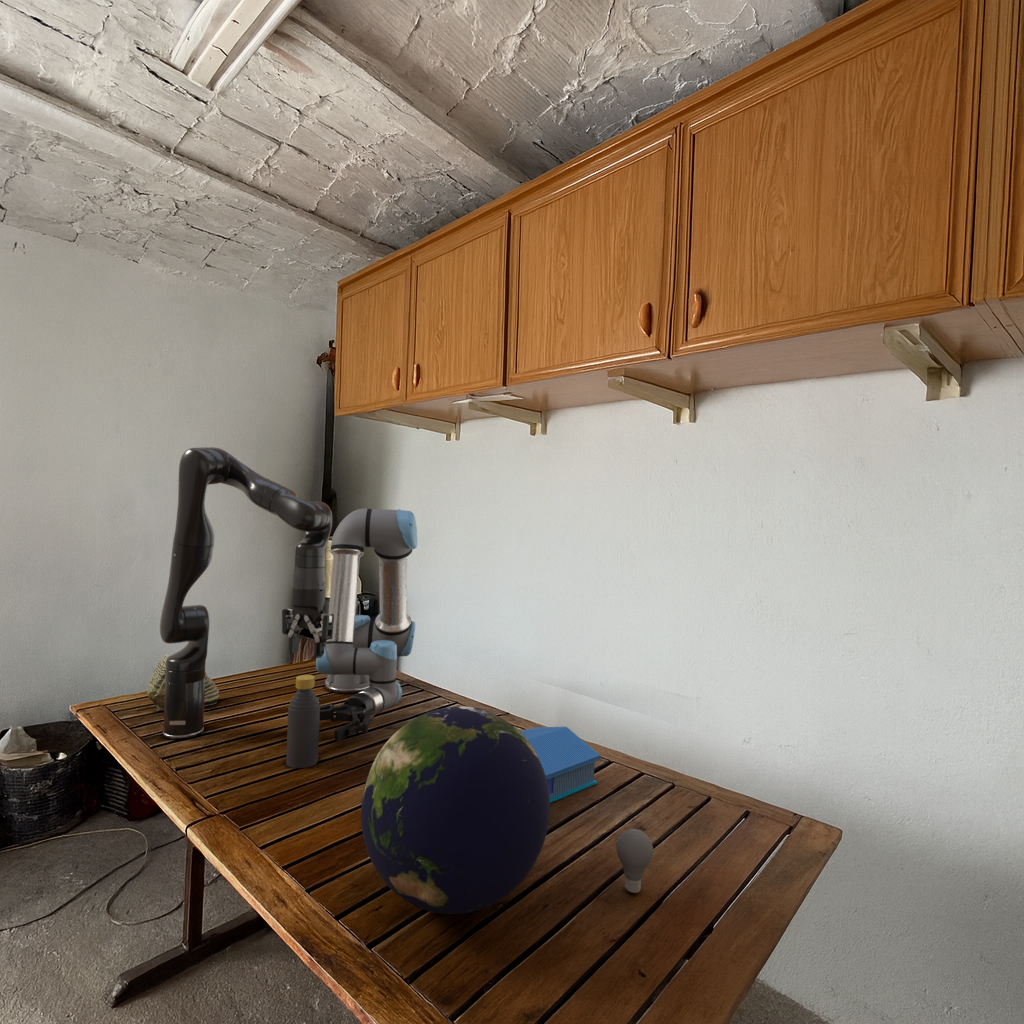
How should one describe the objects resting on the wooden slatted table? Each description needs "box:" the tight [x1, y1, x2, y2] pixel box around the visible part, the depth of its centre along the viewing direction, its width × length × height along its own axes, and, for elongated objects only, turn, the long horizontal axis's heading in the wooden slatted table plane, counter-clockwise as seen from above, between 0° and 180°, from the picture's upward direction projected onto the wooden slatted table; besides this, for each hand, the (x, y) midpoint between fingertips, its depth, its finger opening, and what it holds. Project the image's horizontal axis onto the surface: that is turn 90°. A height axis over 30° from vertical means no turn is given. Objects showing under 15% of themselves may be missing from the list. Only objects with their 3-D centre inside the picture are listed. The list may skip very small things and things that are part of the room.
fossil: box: [147, 654, 221, 712], centre depth 185 cm, size 9×18×15 cm, turn 132°
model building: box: [519, 726, 601, 804], centre depth 139 cm, size 39×24×10 cm, turn 132°
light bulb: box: [615, 828, 654, 894], centre depth 106 cm, size 6×6×10 cm
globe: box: [360, 705, 551, 915], centre depth 102 cm, size 30×30×30 cm
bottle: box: [285, 688, 321, 769], centre depth 150 cm, size 7×7×20 cm
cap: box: [295, 674, 316, 690], centre depth 150 cm, size 4×4×2 cm
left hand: (306, 655), depth 150 cm, fingers open, 7 cm apart
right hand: (312, 731), depth 152 cm, fingers open, 13 cm apart
